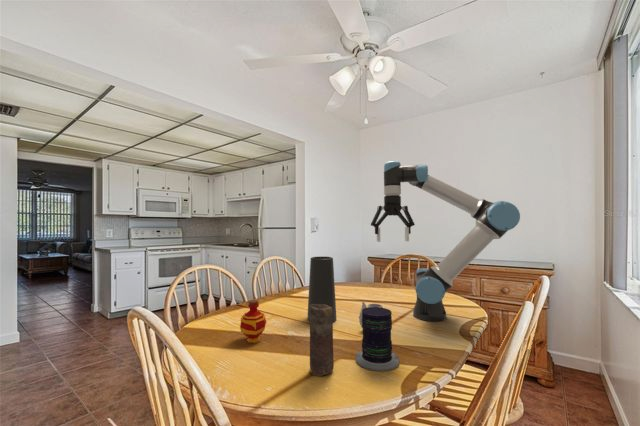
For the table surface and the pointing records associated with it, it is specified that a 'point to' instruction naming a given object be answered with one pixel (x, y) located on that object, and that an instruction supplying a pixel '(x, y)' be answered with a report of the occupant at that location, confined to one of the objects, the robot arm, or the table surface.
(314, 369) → the candle
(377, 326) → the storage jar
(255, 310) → the potion bottle
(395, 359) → the disc
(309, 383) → the table surface
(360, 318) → the mug
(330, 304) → the vase
